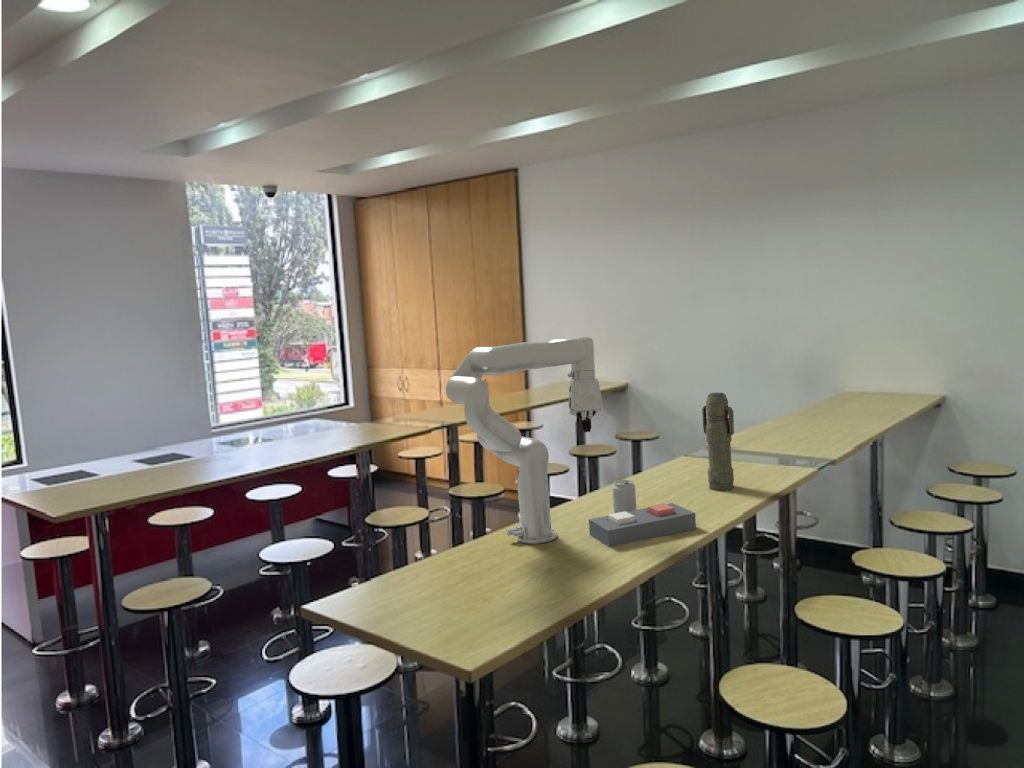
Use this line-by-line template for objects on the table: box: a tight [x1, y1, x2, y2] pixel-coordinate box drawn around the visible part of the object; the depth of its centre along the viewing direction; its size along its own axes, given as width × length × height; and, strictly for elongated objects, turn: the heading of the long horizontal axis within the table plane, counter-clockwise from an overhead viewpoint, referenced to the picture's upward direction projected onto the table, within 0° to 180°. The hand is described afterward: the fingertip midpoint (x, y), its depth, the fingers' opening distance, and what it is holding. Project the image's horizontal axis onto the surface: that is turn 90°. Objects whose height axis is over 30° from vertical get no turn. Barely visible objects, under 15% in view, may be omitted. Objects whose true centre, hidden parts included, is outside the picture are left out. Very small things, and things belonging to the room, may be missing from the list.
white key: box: [607, 511, 635, 525], centre depth 220 cm, size 6×6×4 cm
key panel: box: [588, 502, 697, 548], centre depth 223 cm, size 30×13×5 cm, turn 109°
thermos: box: [701, 392, 735, 492], centre depth 262 cm, size 9×12×35 cm
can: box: [611, 479, 638, 514], centre depth 239 cm, size 8×8×12 cm
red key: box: [647, 502, 675, 517], centre depth 225 cm, size 6×6×4 cm
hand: (586, 431), depth 234 cm, fingers closed
